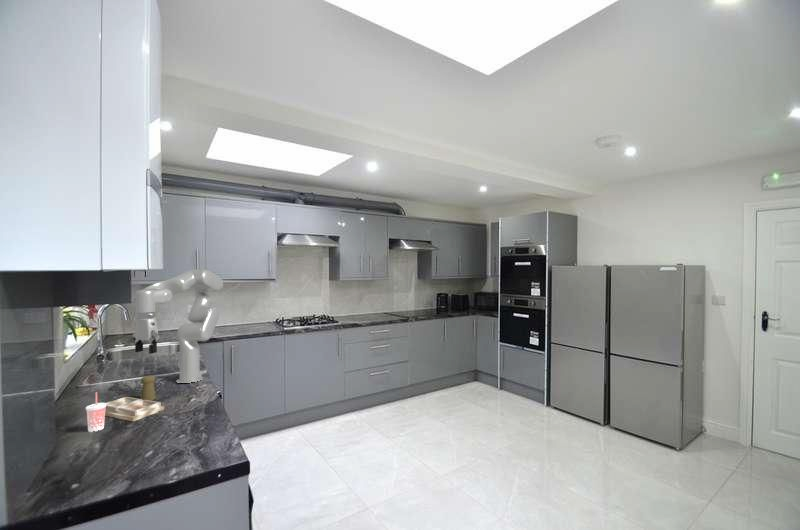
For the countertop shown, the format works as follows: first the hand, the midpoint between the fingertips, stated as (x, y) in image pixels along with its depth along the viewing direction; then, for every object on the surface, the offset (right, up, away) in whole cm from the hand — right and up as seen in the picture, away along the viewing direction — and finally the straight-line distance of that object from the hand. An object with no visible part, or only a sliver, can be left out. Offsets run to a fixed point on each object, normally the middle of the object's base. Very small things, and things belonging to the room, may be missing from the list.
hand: (146, 352), depth 168 cm
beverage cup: (+4, -22, -32) cm, 39 cm away
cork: (+1, -23, 0) cm, 23 cm away
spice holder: (+4, -22, -15) cm, 27 cm away
